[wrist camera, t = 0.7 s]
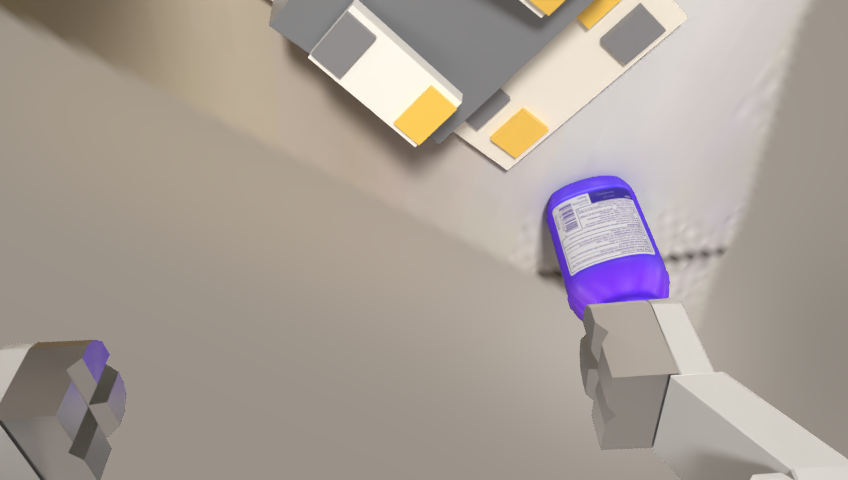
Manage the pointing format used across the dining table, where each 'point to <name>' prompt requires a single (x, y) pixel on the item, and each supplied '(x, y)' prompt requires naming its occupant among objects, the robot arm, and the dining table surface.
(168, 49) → the dining table surface
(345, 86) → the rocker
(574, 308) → the bottle
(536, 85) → the switch unit
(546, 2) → the rocker
